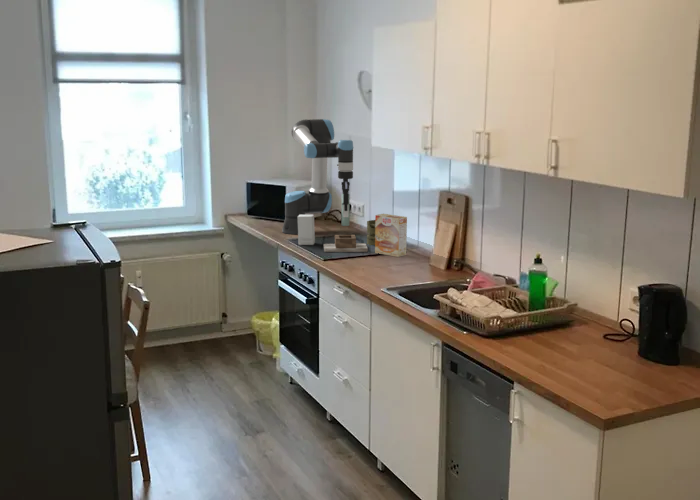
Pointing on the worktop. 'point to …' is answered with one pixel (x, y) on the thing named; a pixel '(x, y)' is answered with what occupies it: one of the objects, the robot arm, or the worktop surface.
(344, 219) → the peg
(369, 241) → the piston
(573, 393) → the worktop surface
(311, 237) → the skincare box
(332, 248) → the socket board
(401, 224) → the coffeecake box
